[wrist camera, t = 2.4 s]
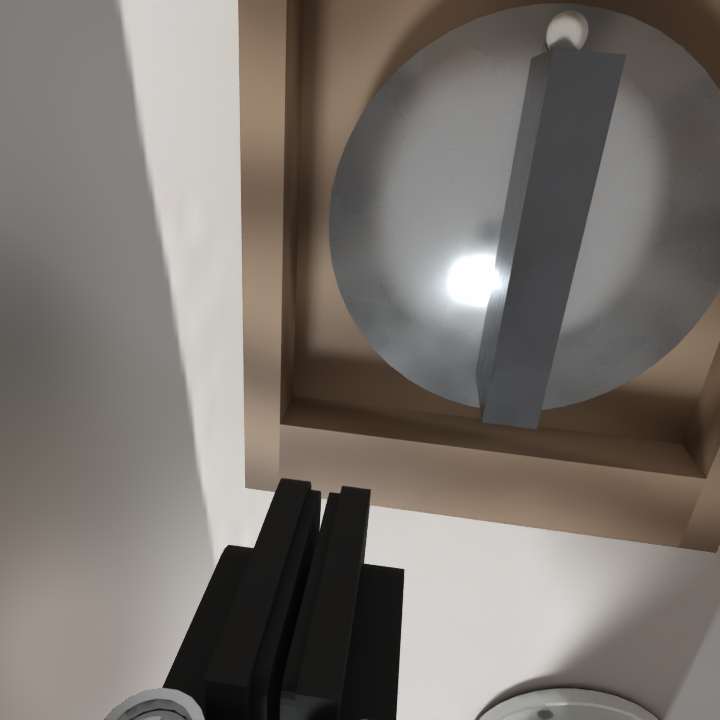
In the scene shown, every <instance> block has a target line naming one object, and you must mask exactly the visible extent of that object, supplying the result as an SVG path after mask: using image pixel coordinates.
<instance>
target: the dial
mask: <svg viewBox="0 0 720 720" xmlns="http://www.w3.org/2000/svg"><path fill="white" fill-rule="evenodd" d="M329 246H330V253H331V260H332V266H333V270H334V274H335V277H336V281H337V285H338V288H339V291H340V294H341V296H342V298H343V301H344V303H345V305H346V308H347V310H348V312H349V314H350V315H351V317H352V319H353V321H354V322H355V324H356V326H357V327H358V329H359V331H360V332H361V334H362V335H363V336H364V337H365V339H366V340H367V341H368V343H369V344H370V345H371V346H372V348H373V349H374V350H375V351H376V352H377V353H378V354H379V355H380V356H381V357H382V358H383V359H384V360H385V361H386V362H387V363H388V364H389V365H390V366H391V367H393V368H394V369H395V370H397V371H398V372H399V373H401V374H402V375H403V376H404V377H406V378H407V379H409V380H410V381H412V382H414V383H415V384H417V385H419V386H420V387H422V388H424V389H425V390H427V391H430V392H432V393H434V394H436V395H439V396H441V397H443V398H446V399H448V400H451V401H455V402H458V403H461V404H464V405H468V406H472V407H478V408H480V412H481V419H482V423H490V424H498V425H506V426H514V427H522V428H530V429H537V426H538V422H539V418H540V413H541V410H545V409H551V408H558V407H564V406H567V405H571V404H575V403H578V402H582V401H586V400H588V399H591V398H594V397H596V396H599V395H601V394H604V393H606V392H609V391H611V390H613V389H615V388H617V387H619V386H621V385H623V384H625V383H627V382H628V381H630V380H632V379H634V378H635V377H637V376H638V375H640V374H641V373H643V372H644V371H646V370H647V369H649V368H650V367H652V366H653V365H655V364H656V363H657V362H658V361H659V360H661V359H662V358H663V357H664V356H665V355H667V354H668V353H669V352H670V351H671V350H673V349H674V348H675V347H676V346H677V345H678V344H679V343H680V342H681V341H682V339H683V338H684V337H685V336H686V335H687V334H688V333H689V332H690V331H691V330H692V329H693V328H694V326H695V325H696V324H697V322H698V321H699V320H700V319H701V317H702V316H703V315H704V313H705V312H706V311H707V309H708V308H709V307H710V305H711V303H712V301H713V300H714V298H715V296H716V295H717V293H718V291H719V289H720V90H719V89H718V87H717V86H716V84H715V83H714V82H713V80H712V79H711V77H710V76H709V75H708V73H707V72H706V70H705V69H704V68H703V67H702V66H701V65H700V64H699V63H698V62H697V61H696V60H695V59H694V58H693V57H692V56H691V55H690V54H689V53H688V52H687V51H686V50H685V49H684V48H683V47H682V46H680V45H679V44H678V43H676V42H675V41H673V40H672V39H671V38H669V37H668V36H666V35H665V34H664V33H662V32H661V31H660V30H658V29H656V28H654V27H652V26H650V25H648V24H645V23H643V22H641V21H639V20H637V19H635V18H633V17H631V16H628V15H624V14H621V13H618V12H615V11H611V10H608V9H605V8H600V7H593V6H586V5H579V4H573V3H562V4H535V5H529V6H522V7H516V8H509V9H506V10H503V11H499V12H496V13H493V14H489V15H486V16H483V17H480V18H477V19H475V20H473V21H471V22H468V23H466V24H464V25H462V26H460V27H458V28H455V29H453V30H451V31H449V32H448V33H446V34H444V35H443V36H441V37H440V38H438V39H437V40H435V41H433V42H432V43H430V44H429V45H427V46H425V47H424V48H423V49H421V50H420V51H419V52H418V53H417V54H415V55H414V56H413V57H412V58H411V59H409V60H408V61H407V62H406V63H405V64H403V65H402V66H401V67H400V68H399V69H398V70H397V71H396V72H395V73H394V74H393V75H392V76H391V77H390V79H389V80H388V81H387V82H386V83H385V84H384V85H383V86H382V87H381V88H380V89H379V91H378V92H377V93H376V95H375V96H374V98H373V99H372V100H371V102H370V103H369V105H368V106H367V107H366V109H365V110H364V111H363V113H362V114H361V116H360V118H359V120H358V122H357V124H356V126H355V127H354V129H353V131H352V133H351V135H350V137H349V139H348V141H347V143H346V146H345V149H344V151H343V154H342V156H341V159H340V162H339V164H338V168H337V172H336V176H335V180H334V184H333V188H332V193H331V202H330V210H329Z"/></svg>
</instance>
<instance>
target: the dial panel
mask: <svg viewBox="0 0 720 720" xmlns="http://www.w3.org/2000/svg"><path fill="white" fill-rule="evenodd" d="M562 3H573V4H579V5H586V6H593V7H600V8H605V9H608V10H611V11H615V12H618V13H621V14H624V15H628V16H631V17H633V18H635V19H637V20H639V21H641V22H643V23H645V24H648V25H650V26H652V27H654V28H656V29H658V30H660V31H661V32H662V33H664V34H665V35H666V36H668V37H669V38H671V39H672V40H673V41H675V42H676V43H678V44H679V45H680V46H682V47H683V48H684V49H685V50H686V51H687V52H688V53H689V54H690V55H691V56H692V57H693V58H694V59H695V60H696V61H697V62H698V63H699V64H700V65H701V66H702V67H703V68H704V69H705V70H706V72H707V73H708V75H709V76H710V77H711V79H712V80H713V82H714V83H715V84H716V86H717V87H718V89H719V90H720V0H238V12H239V81H240V150H241V218H242V287H243V356H244V425H245V488H250V489H257V490H264V491H272V492H276V489H277V486H278V484H279V481H280V479H281V478H287V479H295V480H303V481H310V482H311V490H318V491H321V498H323V499H328V496H329V493H330V492H333V493H340V491H341V488H342V486H349V487H357V488H364V489H371V497H370V505H373V506H381V507H388V508H395V509H402V510H410V511H417V512H424V513H431V514H439V515H446V516H453V517H460V518H468V519H475V520H482V521H489V522H497V523H504V524H511V525H518V526H526V527H533V528H540V529H547V530H555V531H562V532H569V533H576V534H584V535H591V536H598V537H605V538H613V539H620V540H627V541H635V542H642V543H649V544H656V545H664V546H671V547H678V548H685V549H693V550H700V551H707V552H714V553H716V552H717V550H718V547H719V545H720V289H719V291H718V293H717V295H716V296H715V298H714V300H713V301H712V303H711V305H710V307H709V308H708V309H707V311H706V312H705V313H704V315H703V316H702V317H701V319H700V320H699V321H698V322H697V324H696V325H695V326H694V328H693V329H692V330H691V331H690V332H689V333H688V334H687V335H686V336H685V337H684V338H683V339H682V341H681V342H680V343H679V344H678V345H677V346H676V347H675V348H674V349H673V350H671V351H670V352H669V353H668V354H667V355H665V356H664V357H663V358H662V359H661V360H659V361H658V362H657V363H656V364H655V365H653V366H652V367H650V368H649V369H647V370H646V371H644V372H643V373H641V374H640V375H638V376H637V377H635V378H634V379H632V380H630V381H628V382H627V383H625V384H623V385H621V386H619V387H617V388H615V389H613V390H611V391H609V392H606V393H604V394H601V395H599V396H596V397H594V398H591V399H588V400H586V401H582V402H578V403H575V404H571V405H567V406H564V407H558V408H551V409H545V410H541V413H540V418H539V422H538V426H537V429H530V428H522V427H514V426H506V425H498V424H490V423H482V419H481V412H480V408H478V407H472V406H468V405H464V404H461V403H458V402H455V401H451V400H448V399H446V398H443V397H441V396H439V395H436V394H434V393H432V392H430V391H427V390H425V389H424V388H422V387H420V386H419V385H417V384H415V383H414V382H412V381H410V380H409V379H407V378H406V377H404V376H403V375H402V374H401V373H399V372H398V371H397V370H395V369H394V368H393V367H391V366H390V365H389V364H388V363H387V362H386V361H385V360H384V359H383V358H382V357H381V356H380V355H379V354H378V353H377V352H376V351H375V350H374V349H373V348H372V346H371V345H370V344H369V343H368V341H367V340H366V339H365V337H364V336H363V335H362V334H361V332H360V331H359V329H358V327H357V326H356V324H355V322H354V321H353V319H352V317H351V315H350V314H349V312H348V310H347V308H346V305H345V303H344V301H343V298H342V296H341V294H340V291H339V288H338V285H337V281H336V277H335V274H334V270H333V266H332V260H331V253H330V246H329V210H330V202H331V193H332V188H333V184H334V180H335V176H336V172H337V168H338V164H339V162H340V159H341V156H342V154H343V151H344V149H345V146H346V143H347V141H348V139H349V137H350V135H351V133H352V131H353V129H354V127H355V126H356V124H357V122H358V120H359V118H360V116H361V114H362V113H363V111H364V110H365V109H366V107H367V106H368V105H369V103H370V102H371V100H372V99H373V98H374V96H375V95H376V93H377V92H378V91H379V89H380V88H381V87H382V86H383V85H384V84H385V83H386V82H387V81H388V80H389V79H390V77H391V76H392V75H393V74H394V73H395V72H396V71H397V70H398V69H399V68H400V67H401V66H402V65H403V64H405V63H406V62H407V61H408V60H409V59H411V58H412V57H413V56H414V55H415V54H417V53H418V52H419V51H420V50H421V49H423V48H424V47H425V46H427V45H429V44H430V43H432V42H433V41H435V40H437V39H438V38H440V37H441V36H443V35H444V34H446V33H448V32H449V31H451V30H453V29H455V28H458V27H460V26H462V25H464V24H466V23H468V22H471V21H473V20H475V19H477V18H480V17H483V16H486V15H489V14H493V13H496V12H499V11H503V10H506V9H509V8H516V7H522V6H529V5H535V4H562Z"/></svg>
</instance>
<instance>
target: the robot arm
mask: <svg viewBox="0 0 720 720" xmlns="http://www.w3.org/2000/svg"><path fill="white" fill-rule="evenodd" d="M370 497H371V489H364V488H357V487H349V486H342V488H341V491H340V493H333V492H330V493H329V496H328V500H327V504H326V508H325V512H324V516H323V520H322V524H321V528H320V511H321V491H318V490H311V482H310V481H303V480H295V479H287V478H281V479H280V481H279V484H278V486H277V489H276V492H275V494H274V497H273V499H272V502H271V505H270V507H269V510H268V513H267V515H266V518H265V520H264V523H263V526H262V528H261V531H260V533H259V536H258V539H257V541H256V544H255V547H254V548H248V547H241V546H233V545H228V546H227V547H226V548H225V549H224V551H223V553H222V555H221V557H220V559H219V562H218V564H217V566H216V568H215V571H214V573H213V575H212V577H211V580H210V582H209V584H208V587H207V588H206V591H205V593H204V595H203V598H202V600H201V602H200V604H199V606H198V609H197V611H196V613H195V615H194V618H193V620H192V622H191V624H190V627H189V629H188V631H187V633H186V636H185V638H184V640H183V643H182V645H181V647H180V649H179V652H178V654H177V656H176V658H175V661H174V663H173V665H172V667H171V669H170V672H169V674H168V676H167V678H166V681H165V683H164V685H163V687H162V688H158V689H151V690H145V691H143V692H141V693H138V694H136V695H134V696H131V697H129V698H128V699H126V700H125V701H123V702H122V703H121V704H119V705H118V706H116V707H115V708H114V709H113V710H112V711H111V712H110V713H109V714H108V715H107V717H106V718H105V719H104V720H396V712H397V695H398V677H399V659H400V641H401V623H402V605H403V587H404V569H399V568H392V567H385V566H377V565H370V564H364V557H365V547H366V537H367V527H368V517H369V507H370ZM319 530H320V532H319ZM479 720H658V719H657V718H656V717H655V716H654V715H653V714H652V713H650V712H648V711H647V710H645V709H643V708H642V707H640V706H638V705H637V704H635V703H632V702H630V701H627V700H625V699H623V698H620V697H618V696H615V695H611V694H607V693H603V692H599V691H593V690H584V689H576V688H563V689H547V690H540V691H533V692H529V693H526V694H522V695H518V696H515V697H513V698H511V699H508V700H506V701H504V702H502V703H499V704H498V705H496V706H495V707H493V708H492V709H490V710H489V711H487V712H486V713H485V714H484V715H483V716H482V717H481V718H480V719H479Z"/></svg>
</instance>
